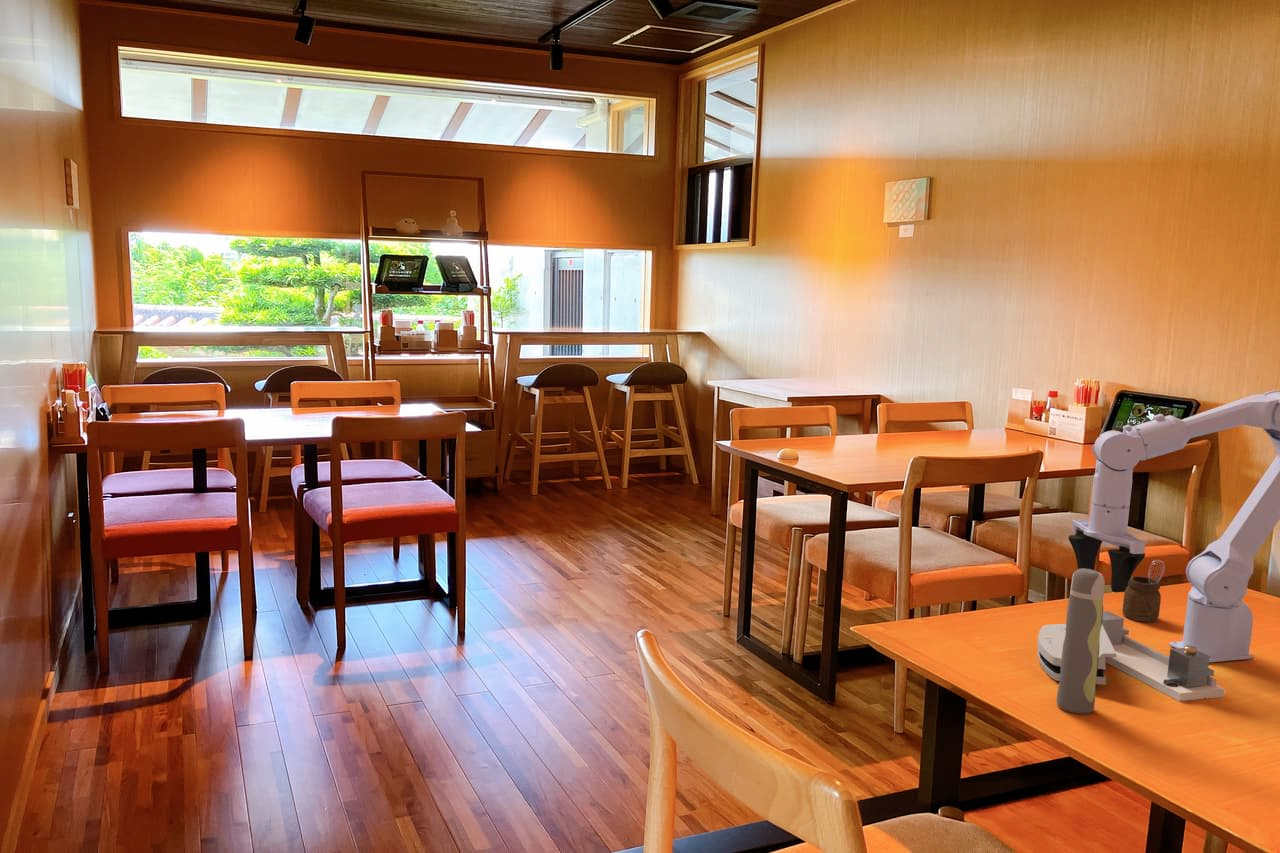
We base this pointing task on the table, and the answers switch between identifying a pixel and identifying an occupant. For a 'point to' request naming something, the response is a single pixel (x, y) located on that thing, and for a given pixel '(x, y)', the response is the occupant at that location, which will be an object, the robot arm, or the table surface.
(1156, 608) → the utensil holder
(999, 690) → the table surface
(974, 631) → the table surface
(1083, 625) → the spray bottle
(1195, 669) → the grey slider block
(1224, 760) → the table surface
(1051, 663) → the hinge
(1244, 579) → the robot arm
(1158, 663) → the board
